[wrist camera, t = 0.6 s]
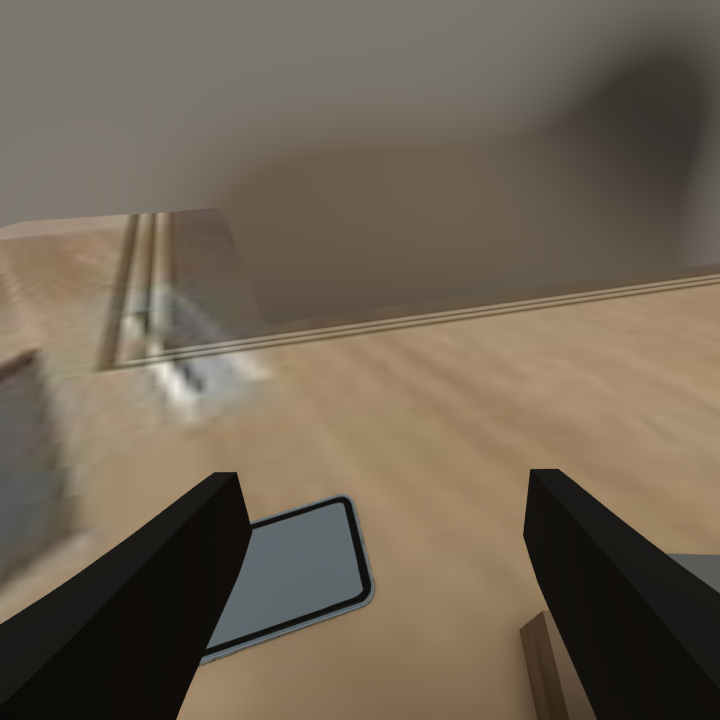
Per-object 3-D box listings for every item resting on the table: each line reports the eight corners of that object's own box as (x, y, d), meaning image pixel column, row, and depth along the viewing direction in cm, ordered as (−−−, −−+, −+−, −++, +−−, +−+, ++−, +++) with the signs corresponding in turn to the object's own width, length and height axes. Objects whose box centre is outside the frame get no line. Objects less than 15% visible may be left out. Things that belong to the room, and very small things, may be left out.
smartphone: (378, 601, 21) (128, 688, 20) (380, 604, 22) (138, 689, 20) (350, 489, 26) (150, 552, 25) (352, 494, 27) (157, 556, 26)
